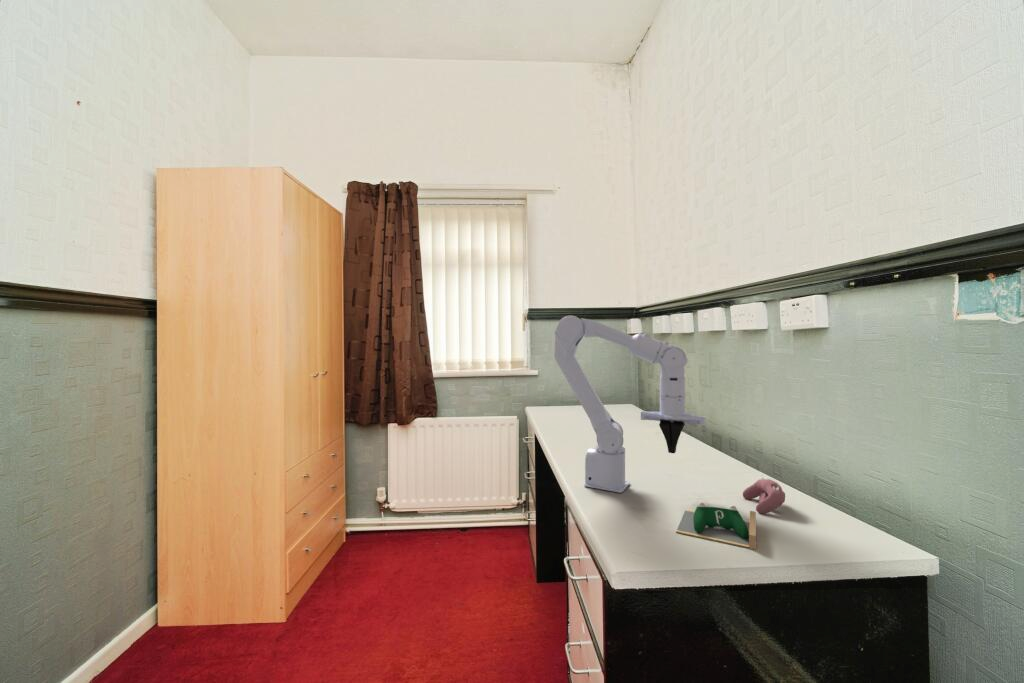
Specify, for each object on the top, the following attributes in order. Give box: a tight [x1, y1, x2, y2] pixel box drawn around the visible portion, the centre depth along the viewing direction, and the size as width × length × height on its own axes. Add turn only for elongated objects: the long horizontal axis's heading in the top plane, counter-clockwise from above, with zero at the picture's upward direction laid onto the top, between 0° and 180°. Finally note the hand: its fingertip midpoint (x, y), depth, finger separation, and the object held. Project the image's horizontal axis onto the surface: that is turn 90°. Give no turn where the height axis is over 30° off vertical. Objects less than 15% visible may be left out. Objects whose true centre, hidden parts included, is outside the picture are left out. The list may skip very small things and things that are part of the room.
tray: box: [676, 509, 757, 550], centre depth 81 cm, size 13×12×2 cm
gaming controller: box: [693, 502, 749, 539], centre depth 80 cm, size 9×4×6 cm
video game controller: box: [742, 477, 786, 515], centre depth 92 cm, size 10×5×7 cm, turn 169°
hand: (672, 452), depth 102 cm, fingers closed
